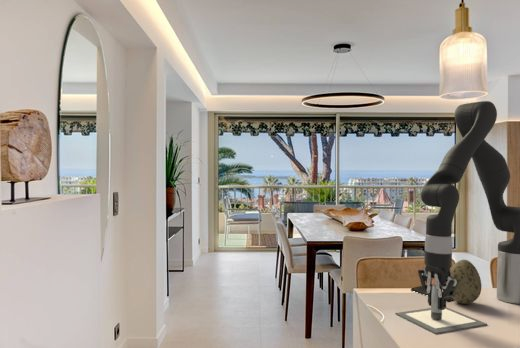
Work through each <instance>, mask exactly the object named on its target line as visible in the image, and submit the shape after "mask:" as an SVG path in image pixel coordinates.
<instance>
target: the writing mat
mask: <svg viewBox="0 0 520 348" xmlns="http://www.w3.org/2000/svg"><path fill="white" fill-rule="evenodd" d="M395 315H396V316H398V317H400V318H402V319H404V320H407V322H411V323H412V324H414V325H416V326H418V327H420V328H422V329H424V330H426V331H428V332H430V333H432V334H434V335H438V334H445V333H450V332H456V331H463V330H466V329H467V330H468V329H473V328H478V327H484V326H488V323H486V322H484V321H481V320H479V319H477V318H474V317H471V316H469V315H466V314H464V313H461V312H459V311H457V310H455V309H452V308H450V307H447V306H446V308H445V309H444V310H442V319H441V320H437V319H433V318H431V307H428V308H420V309H414V310H406V311H400V312H395Z"/></svg>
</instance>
